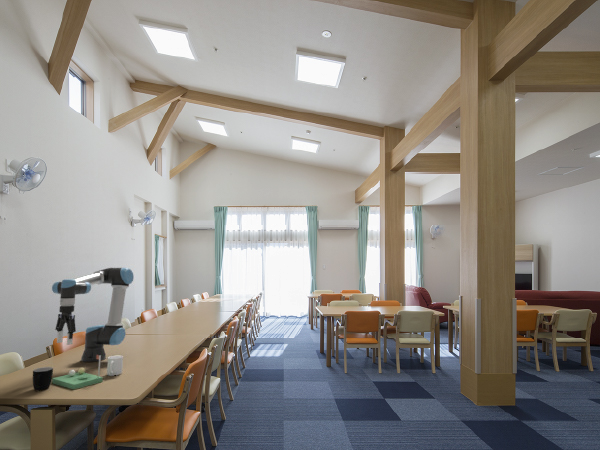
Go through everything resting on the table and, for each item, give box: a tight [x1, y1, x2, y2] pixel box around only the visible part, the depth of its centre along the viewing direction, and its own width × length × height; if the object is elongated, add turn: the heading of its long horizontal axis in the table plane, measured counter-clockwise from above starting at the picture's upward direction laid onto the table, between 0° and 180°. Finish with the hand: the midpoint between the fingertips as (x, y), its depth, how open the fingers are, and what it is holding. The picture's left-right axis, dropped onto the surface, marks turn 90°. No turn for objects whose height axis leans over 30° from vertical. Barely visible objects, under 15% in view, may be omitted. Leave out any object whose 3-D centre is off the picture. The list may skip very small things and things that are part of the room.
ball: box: [67, 369, 76, 376], centre depth 215 cm, size 3×3×3 cm
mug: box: [32, 366, 54, 392], centre depth 200 cm, size 12×9×10 cm
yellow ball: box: [77, 367, 86, 374], centre depth 220 cm, size 3×3×3 cm
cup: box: [106, 354, 124, 377], centre depth 227 cm, size 8×12×10 cm
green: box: [51, 355, 104, 391], centre depth 212 cm, size 22×16×14 cm
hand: (64, 343), depth 222 cm, fingers open, 10 cm apart
